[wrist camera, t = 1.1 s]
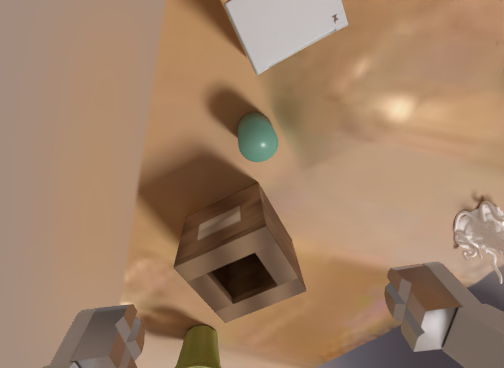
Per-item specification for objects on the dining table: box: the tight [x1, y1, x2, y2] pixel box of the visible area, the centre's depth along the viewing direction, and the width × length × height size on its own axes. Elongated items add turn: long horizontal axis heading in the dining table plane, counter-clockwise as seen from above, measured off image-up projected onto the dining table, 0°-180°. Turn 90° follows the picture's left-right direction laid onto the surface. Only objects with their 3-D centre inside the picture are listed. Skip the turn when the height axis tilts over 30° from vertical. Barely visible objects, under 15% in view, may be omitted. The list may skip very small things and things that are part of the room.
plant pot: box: [175, 325, 221, 368], centre depth 51 cm, size 9×9×9 cm
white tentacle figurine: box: [454, 201, 504, 284], centre depth 42 cm, size 9×12×9 cm
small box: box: [224, 0, 348, 75], centre depth 25 cm, size 8×6×10 cm
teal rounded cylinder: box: [237, 112, 278, 162], centre depth 33 cm, size 4×4×5 cm
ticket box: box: [174, 183, 306, 323], centre depth 38 cm, size 12×12×10 cm
